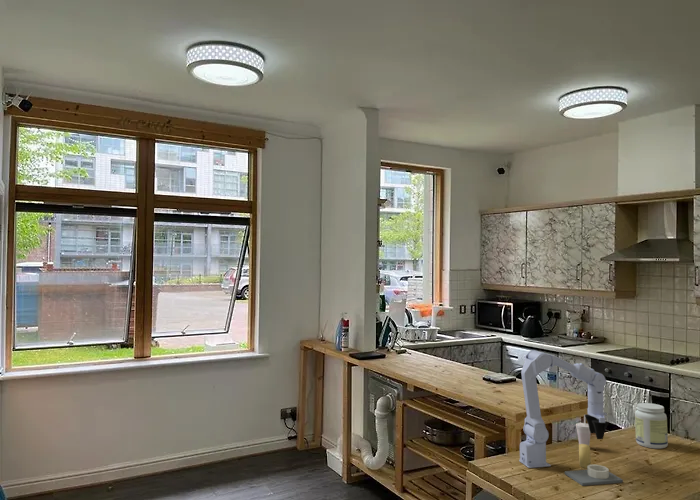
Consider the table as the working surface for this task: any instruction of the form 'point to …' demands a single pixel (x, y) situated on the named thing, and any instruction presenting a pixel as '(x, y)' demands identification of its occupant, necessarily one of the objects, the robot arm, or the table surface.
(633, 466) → the table surface
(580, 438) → the smoothie
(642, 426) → the supplement tub
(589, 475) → the holder
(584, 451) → the peg
